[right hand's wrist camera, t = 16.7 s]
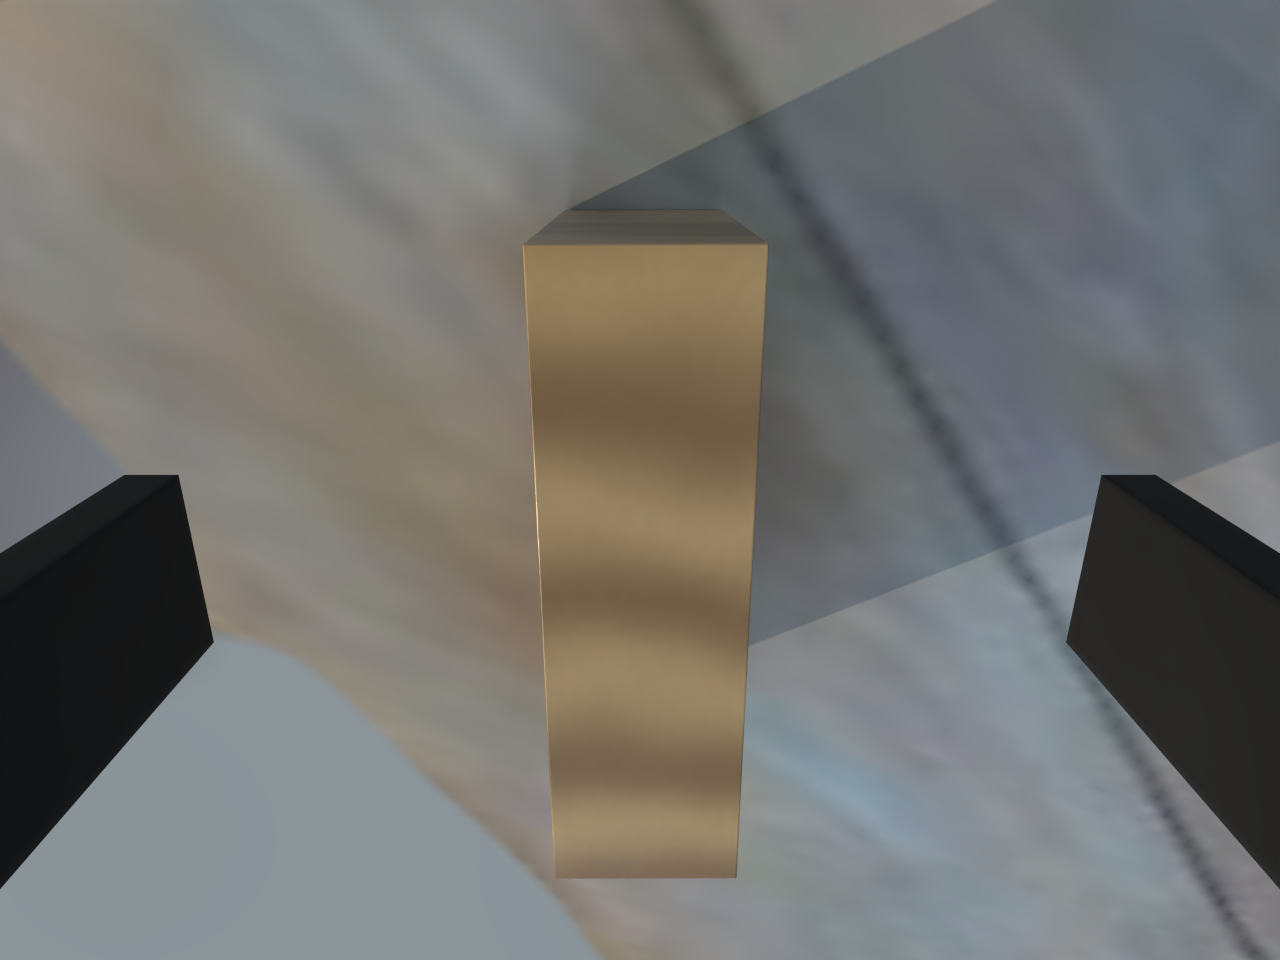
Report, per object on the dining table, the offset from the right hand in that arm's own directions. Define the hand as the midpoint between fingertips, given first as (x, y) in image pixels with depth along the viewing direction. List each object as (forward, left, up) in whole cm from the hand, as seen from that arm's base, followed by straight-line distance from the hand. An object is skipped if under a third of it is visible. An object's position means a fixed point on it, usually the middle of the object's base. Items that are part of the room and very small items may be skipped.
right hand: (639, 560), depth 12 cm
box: (+6, +3, -23) cm, 24 cm away
